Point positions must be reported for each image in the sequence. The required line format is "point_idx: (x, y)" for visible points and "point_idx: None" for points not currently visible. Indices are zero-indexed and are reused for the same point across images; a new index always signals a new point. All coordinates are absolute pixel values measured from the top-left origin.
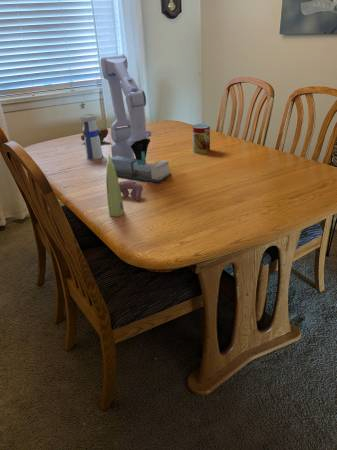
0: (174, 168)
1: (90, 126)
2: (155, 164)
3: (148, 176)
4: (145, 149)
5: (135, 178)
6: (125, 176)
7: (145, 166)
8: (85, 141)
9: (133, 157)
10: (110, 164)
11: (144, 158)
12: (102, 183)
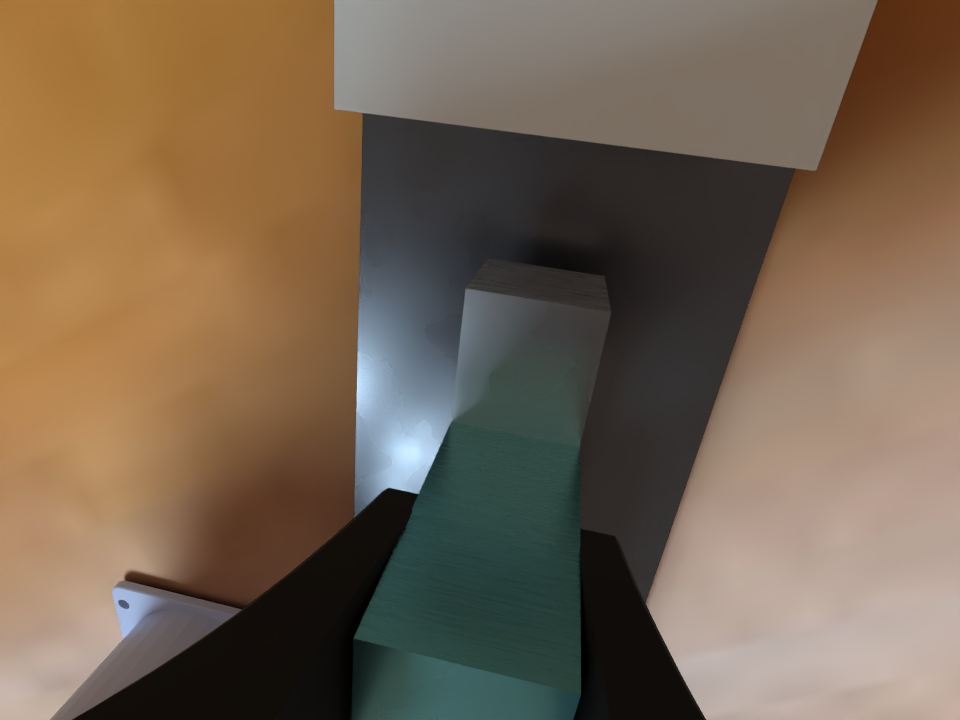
0: (104, 33)
1: None
2: (693, 67)
3: (621, 259)
4: (316, 659)
5: (705, 419)
6: (658, 555)
7: (593, 368)
8: None
9: (149, 642)
10: None
11: (463, 490)
12: (847, 702)
